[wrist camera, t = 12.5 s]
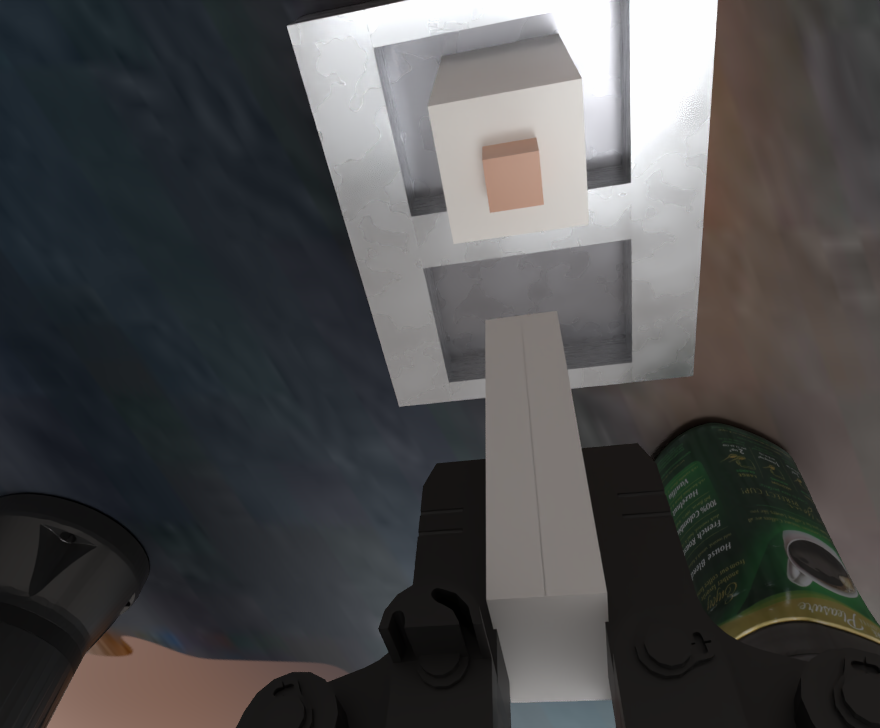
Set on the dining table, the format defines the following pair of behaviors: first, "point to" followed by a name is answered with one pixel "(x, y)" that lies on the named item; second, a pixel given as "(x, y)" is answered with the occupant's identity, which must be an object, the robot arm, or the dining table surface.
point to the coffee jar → (760, 546)
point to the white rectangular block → (510, 139)
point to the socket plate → (533, 254)
